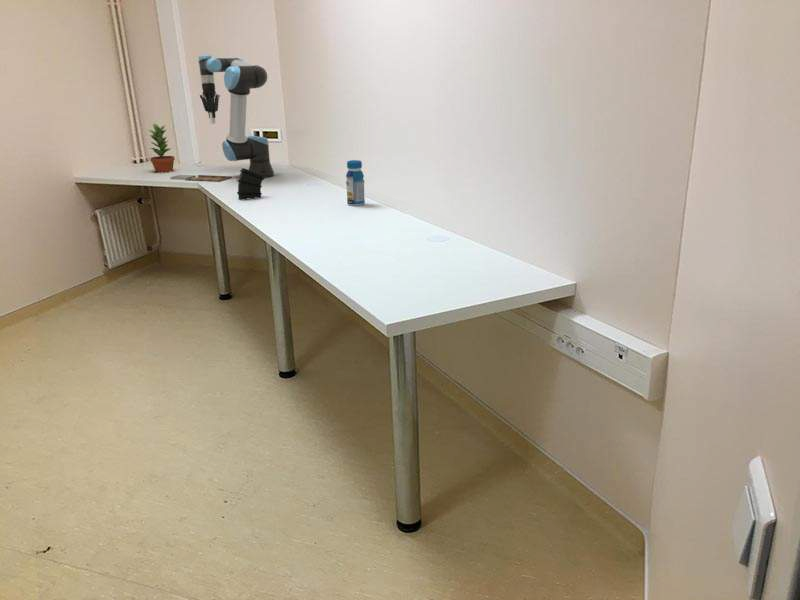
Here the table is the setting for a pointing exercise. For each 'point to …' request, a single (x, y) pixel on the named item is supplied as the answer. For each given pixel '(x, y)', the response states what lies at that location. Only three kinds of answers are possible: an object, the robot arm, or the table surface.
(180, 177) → the cover plate
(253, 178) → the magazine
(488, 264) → the table surface
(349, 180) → the beverage bottle
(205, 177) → the brown wooden tray
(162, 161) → the potted plant
